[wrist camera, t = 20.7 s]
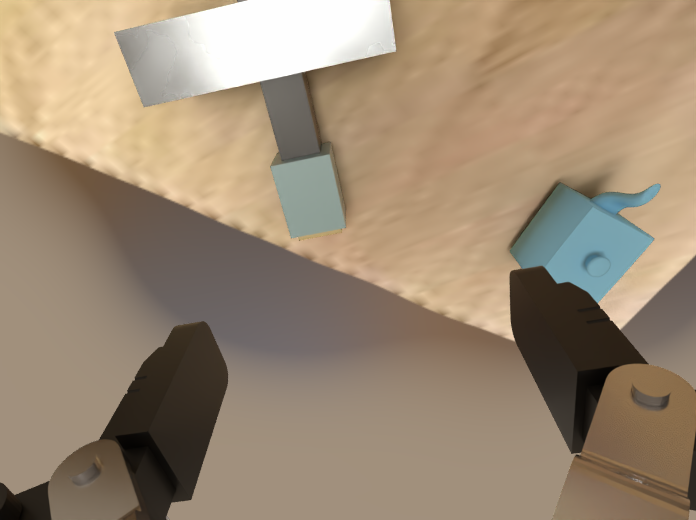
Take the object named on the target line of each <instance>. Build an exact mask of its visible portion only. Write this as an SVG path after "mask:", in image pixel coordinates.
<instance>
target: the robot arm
mask: <svg viewBox="0 0 696 520" xmlns="http://www.w3.org/2000/svg"><path fill="white" fill-rule="evenodd" d="M510 314H511V326H512V331H513V335H514V338H515V341H516V344H517V346H518V348H519V350H520V352H521V354H522V356H523V358H524V360H525V362H526V364H527V366H528V368H529V370H530V372H531V374H532V376H533V378H534V380H535V382H536V384H537V386H538V388H539V390H540V392H541V394H542V396H543V398H544V400H545V402H546V404H547V406H548V408H549V410H550V412H551V414H552V416H553V418H554V420H555V422H556V424H557V426H558V428H559V430H560V431H561V434H562V436H563V438H564V440H565V442H566V444H567V446H568V448H569V450H570V451H571V454H573V453H581V455H576V456H575V457H574V459H573V461H572V464H571V466H570V469H569V472H568V475H567V478H566V481H565V484H564V486H563V489H562V492H561V495H560V498H559V500H558V503H557V506H556V509H555V512H554V515H553V518H552V520H688V518H689V509H690V510H696V390H694V389H693V387H692V386H691V385H690V384H689V383H688V382H687V381H686V380H684V379H683V378H682V377H680V376H679V375H677V374H675V373H673V372H671V371H669V370H666V369H664V368H661V367H657V366H653V365H649V364H648V363H647V362H646V361H645V359H644V358H643V357H642V356H641V355H640V354H639V352H638V351H637V350H636V349H635V348H634V346H633V345H632V344H631V343H630V342H629V340H628V339H627V338H626V337H625V336H624V334H623V333H622V332H621V331H620V330H619V328H618V327H617V326H616V325H615V324H614V323H613V321H610V318H609V317H608V315H607V314H606V313H605V312H604V311H603V309H600V306H599V305H598V303H597V302H596V301H595V300H594V299H593V298H592V296H591V295H590V294H589V293H588V292H587V291H585V290H583V289H581V288H580V287H578V286H576V285H574V284H572V283H571V282H564V283H558V284H557V283H556V282H555V280H554V279H553V278H552V276H551V275H550V274H549V272H548V271H547V270H546V268H545V267H544V266H536V267H530V268H524V269H518V270H513V271H511V272H510ZM227 384H228V371H227V366H226V363H225V361H224V359H223V356H222V354H221V352H220V350H219V348H218V345H217V343H216V341H215V339H214V336H213V334H212V332H211V330H210V327H209V326H208V324H207V323H206V322H204V321H202V322H196V323H190V324H184V325H178V326H175V327H174V328H173V330H172V331H171V333H170V335H169V337H168V339H167V341H166V342H165V345H164V346H163V347H159V348H158V349H157V350H156V351H155V352H153V353H152V354H151V355H150V356H149V357H148V358H147V359H146V360H145V361H144V362H143V364H142V366H141V368H140V369H139V371H138V373H137V374H136V376H135V381H133V382H132V383H131V385H130V387H129V388H128V390H127V391H128V393H127V394H125V395H124V397H123V399H122V401H121V402H120V404H119V406H118V408H117V409H116V411H115V413H114V415H113V416H112V418H111V420H110V422H109V423H108V425H107V427H106V428H105V431H104V432H103V434H102V435H101V437H100V439H99V440H98V441H94V442H91V443H89V444H87V445H85V446H83V447H81V448H79V449H78V450H76V451H75V452H73V453H72V454H71V455H69V456H68V457H67V458H66V459H65V460H64V461H63V462H62V463H61V464H60V465H59V466H58V468H57V469H56V470H55V472H54V473H53V475H52V477H51V479H50V481H48V482H46V483H43V484H41V485H38V486H36V487H34V488H31V489H29V490H26V491H23V492H21V493H19V494H16V495H14V494H13V493H12V492H11V491H10V490H9V489H8V488H7V487H6V486H5V485H4V484H3V483H0V520H170V519H169V517H168V516H167V513H168V510H169V508H170V505H171V502H179V501H187V500H191V499H192V495H193V492H194V489H195V486H196V483H197V480H198V477H199V473H200V470H201V467H202V464H203V461H204V458H205V455H206V451H207V448H208V445H209V442H210V439H211V436H212V433H213V429H214V426H215V423H216V420H217V417H218V414H219V411H220V407H221V404H222V401H223V398H224V395H225V391H226V388H227Z"/></svg>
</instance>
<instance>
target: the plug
mask: <svg viewBox="0 0 696 520" xmlns="http://www.w3.org/2000/svg"><path fill="white" fill-rule="evenodd" d="M237 1H238V3H239V2H243V1H247V0H237ZM260 84H261V88H262V91H263V95H264V99H265V102H266V106H267V110H268V113H269V117H270V120H271V124H272V128H273V131H274V135H275V138H276V142H277V146H278V149H279V153H277V154H276V156H275V158H274V160H273V162H272V164H271V166H270V167H271V171H272V174H273V177H274V181H275V184H276V188H277V191H278V195H279V198H280V201H281V205H282V208H283V212H284V215H285V219H286V222H287V226H288V229H289V232H290V236H291V238H296V237H298V238H299V241H300V240H306V239H311V238H316V237H321V236H326V235H332V234H337V233H342V228H346V209H345V205H344V200H343V195H342V191H341V186H340V182H339V177H338V173H337V168H336V164H335V159H334V155H333V150H332V146H331V142H328V143H323V144H322V143H321V139H320V134H319V130H318V125H317V121H316V117H315V112H314V108H313V104H312V99H311V95H310V91H309V86H308V82H307V78H306V73H305V72H300V73H296V74H291V75H287V76H282V77H278V78H273V79H269V80H264V81H260Z"/></svg>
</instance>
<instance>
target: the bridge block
mask: <svg viewBox="0 0 696 520" xmlns="http://www.w3.org/2000/svg"><path fill="white" fill-rule="evenodd" d="M114 34H115V36H116V39H117V41H118V44H119V46H120V49H121V51H122V54H123V56H124V59H125V61H126V64H127V66H128V69H129V71H130V74H131V76H132V79H133V81H134V84H135V86H136V89H137V91H138V94H139V96H140V99H141V101H142V104H143V106H144V107H147V106H152V105H156V104H161V103H165V102H170V101H174V100H179V99H183V98H188V97H192V96H197V95H201V94H206V93H210V92H215V91H219V90H224V89H228V88H233V87H237V86H242V85H246V84H251V83H255V82H260V81H264V80H269V79H273V78H278V77H282V76H287V75H291V74H296V73H300V72H305V71H309V70H314V69H318V68H323V67H327V66H332V65H336V64H341V63H345V62H350V61H354V60H359V59H363V58H368V57H372V56H377V55H381V54H386V53H391V52H395V51H396V44H395V37H394V30H393V23H392V15H391V8H390V1H389V0H247V1H243V2H239V3H235V4H231V5H226V6H222V7H218V8H214V9H210V10H205V11H201V12H197V13H193V14H189V15H184V16H180V17H176V18H172V19H168V20H163V21H159V22H155V23H151V24H147V25H143V26H138V27H134V28H130V29H126V30H122V31H117V32H114Z"/></svg>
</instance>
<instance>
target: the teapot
mask: <svg viewBox="0 0 696 520" xmlns="http://www.w3.org/2000/svg"><path fill="white" fill-rule="evenodd" d="M660 187H661V186H660V184H655V185H653V186H651V187H649V188H648V189H646V190H644V191H643V192H640V193H636V194H626V193H619V192H605V193H601V194H599V195H597V196H595V197H594V198H592V199H590V198H588V197H586V196H585V195H583V194H581V193H579V192H577V191H575V190H573V189H572V188H570V187H568V186H566V185H564V184H562V183H559V184H558V186H557V187H556V188H555V190H554V191H553V192H552V194H551V195H550V196H549V197H548V198H547V200H546V202H545V203H544V204H543V206H542V207H541V209H540V210H539V211H538V213H537V214H536V215H535V217H534V218H533V219H532V221H531V222H530V223H529V225H528V226H527V228H526V229H525V230H524V231H523V232H522V234H521V236H520V237H519V238H518V240H517V241H516V243H515V244H514V245H513V247H512V248H511V249H510V253H511V254H512V255H513V257H514V258H515V259H516V261H517V262H518V263H519V265H520V266H521V267H522V269H524V268H530V267H536V266H544V267H545V268H546V270H547V271H548V272H549V274H550V275H551V276H552V278H553V279H554V280H555V282H556V283H557V284H558V283H564V282H571V283H572V284H574V285H576V286H578V287H580V288H581V289H583V290H585V291H587V292H588V293H589V294H590V295H591V296H592V298H593V299H594V300H595V301H596V302H597V303H598V302H599V301H600V300H601V299H602V298H603V297H604V296H605V295H606V294H607V292H608V291H609V290H610V289H611V288H612V287H613V286H614V285H615V284H616V282H617V281H618V280H619V279H620V278H621V277H622V276H623V275H624V273H625V272H626V271H627V270H628V269H629V268H630V267H631V266H632V264H633V263H634V262H635V261H636V260H637V259H638V258H639V257H640V255H641V254H642V253H643V252H644V251H645V250H646V249H647V247H648V246H649V245H650V244H651V243H652V242H653V240H654V238H653V237H652V236H650V235H649V234H647V233H646V232H644V231H643V230H641V229H640V228H638V227H637V226H635V225H634V224H632V223H631V222H630V221H628V220H627V219H625V218H624V217H622V216H621V215H619V214H618V212H619V211H620V210H622V209H624V208H626V207H638V206H641V205H644V204H646V203H647V202H649V201H650V200H651V199H653V198H654V197H655V195H656V194H657V193H658V191H659V190H660Z"/></svg>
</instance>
